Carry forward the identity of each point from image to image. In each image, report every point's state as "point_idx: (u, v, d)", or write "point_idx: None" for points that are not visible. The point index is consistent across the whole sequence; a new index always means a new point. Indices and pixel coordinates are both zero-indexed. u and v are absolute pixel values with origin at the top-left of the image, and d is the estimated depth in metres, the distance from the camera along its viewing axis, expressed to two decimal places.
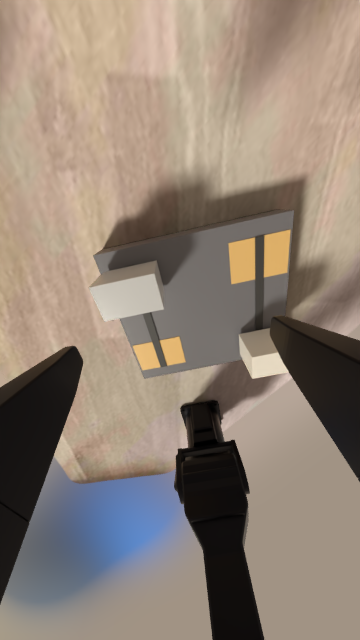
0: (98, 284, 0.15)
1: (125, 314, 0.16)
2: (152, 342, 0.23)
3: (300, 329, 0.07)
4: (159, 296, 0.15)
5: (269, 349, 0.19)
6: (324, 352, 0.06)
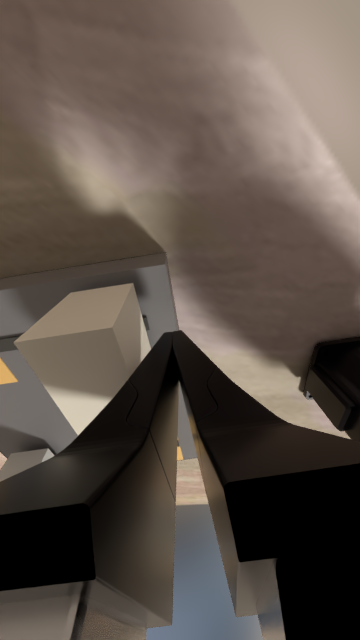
0: None
1: None
2: None
3: (178, 347, 0.07)
4: None
5: None
6: (180, 373, 0.06)
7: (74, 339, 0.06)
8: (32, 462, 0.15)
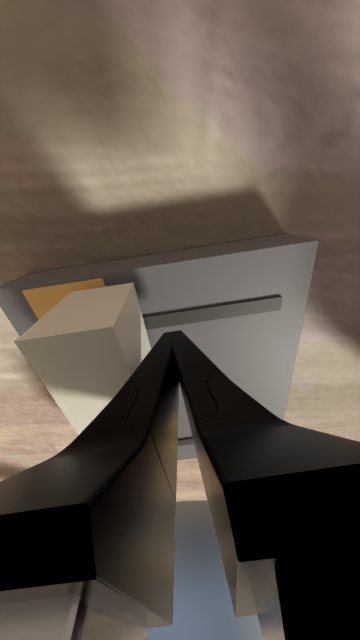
0: None
1: None
2: None
3: (177, 347, 0.07)
4: None
5: None
6: (179, 373, 0.06)
7: (74, 339, 0.06)
8: None
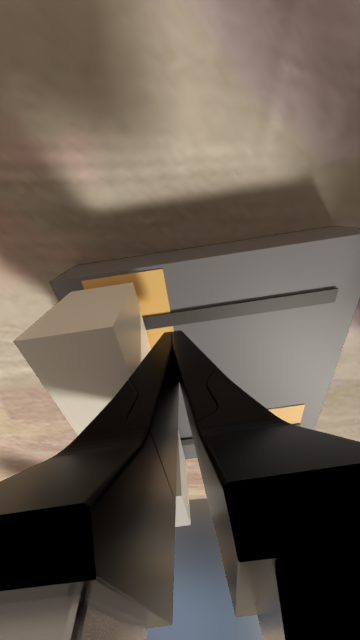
0: None
1: (183, 515, 0.13)
2: None
3: (177, 347, 0.07)
4: None
5: None
6: (179, 373, 0.06)
7: (74, 338, 0.06)
8: None
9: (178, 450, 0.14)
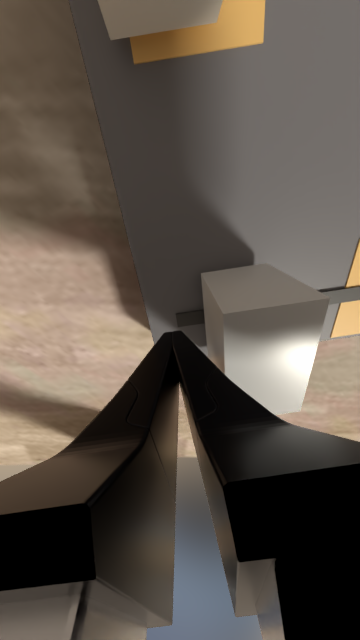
0: None
1: (300, 380, 0.07)
2: (341, 301, 0.11)
3: (177, 347, 0.07)
4: (288, 306, 0.06)
5: None
6: (179, 373, 0.06)
7: None
8: (258, 271, 0.08)
9: (281, 273, 0.08)
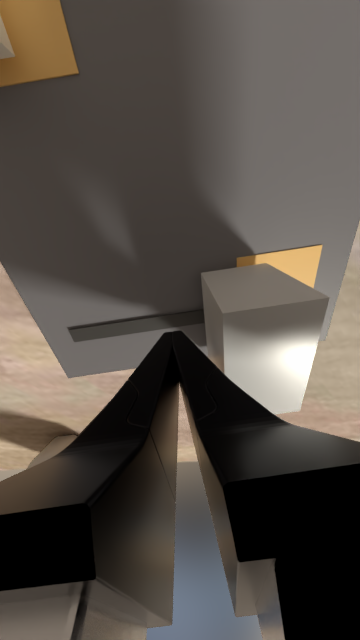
0: None
1: (299, 379, 0.07)
2: None
3: (177, 347, 0.07)
4: (287, 306, 0.06)
5: None
6: (179, 373, 0.06)
7: None
8: (258, 270, 0.08)
9: (281, 273, 0.08)
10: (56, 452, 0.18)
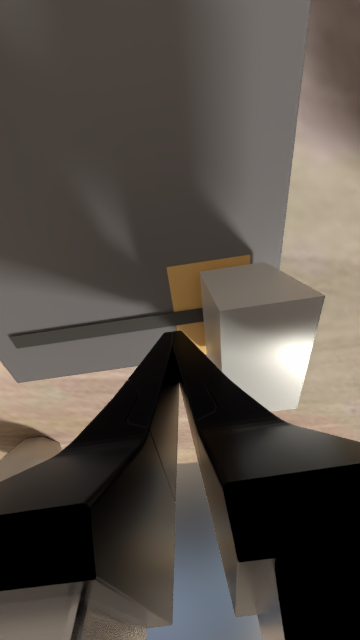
0: None
1: (296, 377, 0.07)
2: (177, 324, 0.11)
3: (177, 347, 0.07)
4: (283, 304, 0.06)
5: None
6: (179, 373, 0.06)
7: None
8: (256, 269, 0.08)
9: (278, 272, 0.08)
10: (21, 454, 0.18)
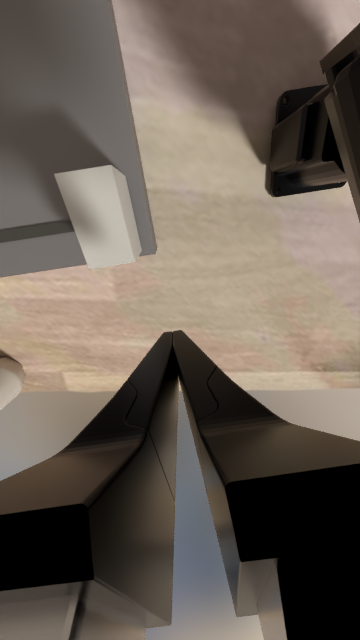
0: None
1: (122, 232, 0.12)
2: None
3: (178, 347, 0.07)
4: (89, 170, 0.10)
5: None
6: (180, 373, 0.06)
7: None
8: None
9: (120, 173, 0.12)
10: None
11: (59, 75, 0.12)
